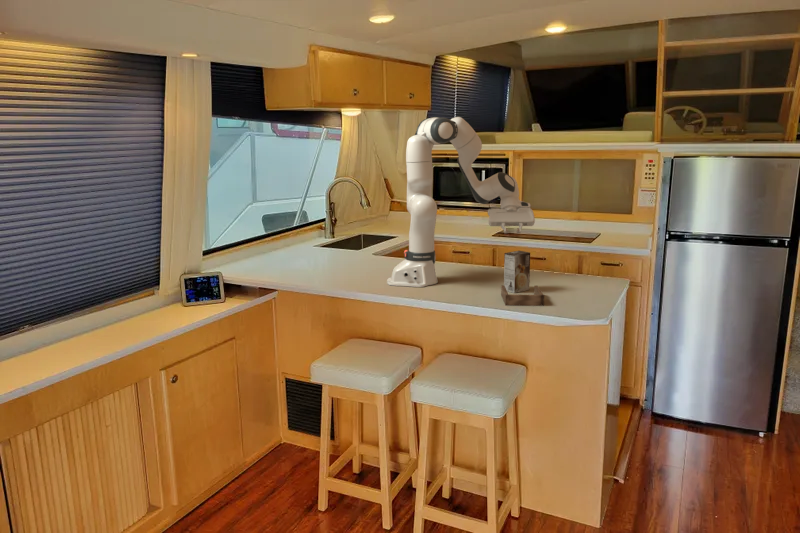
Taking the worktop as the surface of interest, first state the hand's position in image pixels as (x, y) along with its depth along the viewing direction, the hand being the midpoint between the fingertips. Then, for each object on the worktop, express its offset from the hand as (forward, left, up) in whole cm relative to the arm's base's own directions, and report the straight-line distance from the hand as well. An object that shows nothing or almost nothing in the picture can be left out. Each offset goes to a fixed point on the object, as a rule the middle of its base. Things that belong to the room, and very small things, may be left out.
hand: (512, 232), depth 258 cm
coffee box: (0, -18, -22) cm, 28 cm away
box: (0, -33, -21) cm, 40 cm away
